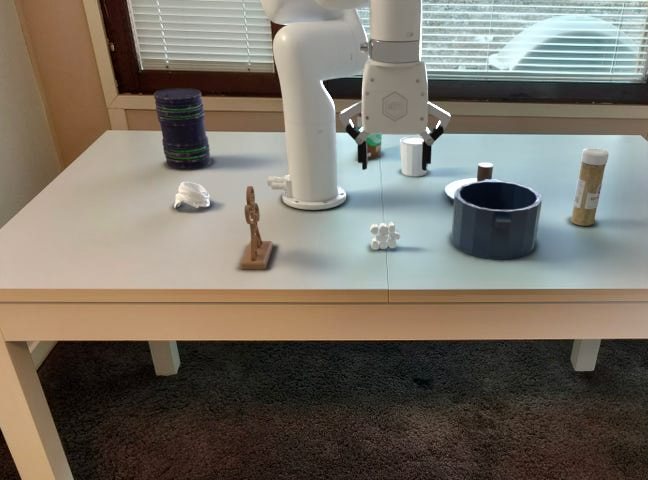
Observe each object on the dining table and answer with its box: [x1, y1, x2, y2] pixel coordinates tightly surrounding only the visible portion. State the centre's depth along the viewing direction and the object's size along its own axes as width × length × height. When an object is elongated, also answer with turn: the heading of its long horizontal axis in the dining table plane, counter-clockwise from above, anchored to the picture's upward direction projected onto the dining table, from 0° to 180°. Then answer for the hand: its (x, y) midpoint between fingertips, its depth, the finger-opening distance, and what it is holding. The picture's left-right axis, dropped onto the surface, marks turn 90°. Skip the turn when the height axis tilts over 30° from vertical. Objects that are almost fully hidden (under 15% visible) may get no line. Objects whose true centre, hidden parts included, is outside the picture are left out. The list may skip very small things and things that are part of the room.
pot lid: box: [444, 162, 494, 202], centre depth 131 cm, size 16×16×7 cm
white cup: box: [399, 136, 429, 177], centre depth 142 cm, size 7×7×7 cm
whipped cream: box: [173, 181, 211, 210], centre depth 124 cm, size 8×7×5 cm
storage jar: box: [153, 87, 212, 171], centre depth 142 cm, size 10×10×15 cm
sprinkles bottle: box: [570, 147, 609, 227], centre depth 119 cm, size 5×5×14 cm
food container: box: [356, 112, 383, 161], centre depth 151 cm, size 12×6×10 cm, turn 179°
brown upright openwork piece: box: [240, 185, 274, 270], centre depth 104 cm, size 9×4×12 cm, turn 1°
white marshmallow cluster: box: [369, 221, 401, 251], centre depth 110 cm, size 5×1×4 cm, turn 94°
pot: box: [451, 178, 543, 260], centre depth 112 cm, size 15×20×8 cm
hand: (394, 167), depth 104 cm, fingers open, 9 cm apart
